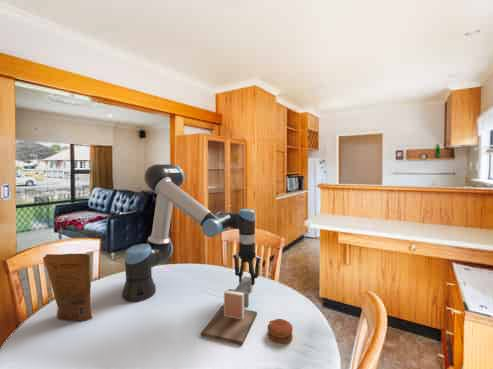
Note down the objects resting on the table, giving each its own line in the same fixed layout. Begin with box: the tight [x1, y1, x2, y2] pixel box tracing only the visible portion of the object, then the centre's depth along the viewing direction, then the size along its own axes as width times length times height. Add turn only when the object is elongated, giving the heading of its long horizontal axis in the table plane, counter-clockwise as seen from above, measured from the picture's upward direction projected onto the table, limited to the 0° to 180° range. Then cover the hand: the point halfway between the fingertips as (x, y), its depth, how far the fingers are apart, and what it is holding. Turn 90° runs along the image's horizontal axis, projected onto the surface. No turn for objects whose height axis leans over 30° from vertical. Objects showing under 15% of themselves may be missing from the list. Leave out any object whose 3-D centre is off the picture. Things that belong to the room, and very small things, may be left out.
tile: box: [223, 289, 245, 319], centre depth 101 cm, size 8×2×10 cm, turn 72°
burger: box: [267, 318, 294, 345], centre depth 92 cm, size 10×9×5 cm
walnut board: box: [200, 304, 258, 346], centre depth 99 cm, size 16×19×2 cm
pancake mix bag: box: [42, 253, 93, 323], centre depth 102 cm, size 7×19×28 cm, turn 82°
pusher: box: [227, 276, 251, 308], centre depth 113 cm, size 9×16×6 cm, turn 162°
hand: (246, 290), depth 118 cm, fingers closed on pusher, 3 cm apart
